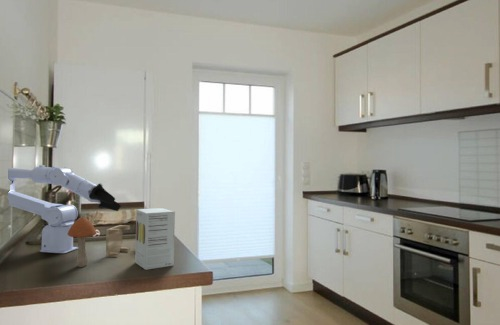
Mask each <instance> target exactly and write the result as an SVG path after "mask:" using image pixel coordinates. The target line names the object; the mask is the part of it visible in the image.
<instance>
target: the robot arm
mask: <svg viewBox="0 0 500 325" xmlns="http://www.w3.org/2000/svg"><path fill="white" fill-rule="evenodd" d="M7 168H8V179H9V180H10V181H12V184H11V185H10V191H9V192H8V200H9V205H8V206H10V207H13V208H16V209H20V210H23V211H25V212H28V213H31V214H35V215H37V216H40V217H41V220H43V221H45V222H46V223H47V224H46V225H44V227H43V229H42V232H41V249H40V250H39V253H53V254H66V253H69V252H72V251H75V250H78V246H74V237H71V236H69V235H68V231H69V229H70V228H71V226H72V225H73V224H74V222H75V221H76V220H77V218H78V214H79V212H78V209H77V207H76V206H75V205H73V204H70V203H69V204H63V203H52V202H49V201H46V200H43V199H40V198H37V197H34V196H31V195H28V194H25V193H21V192H18V191H16V185H15V181H16V180H17V179H30V180H32V182H34V183H35V184H36V183H37V184H49V185H50V184H52V185H53V186H61V187H63V188H65V189H67V190H68V191H69V192H72V193H74V194H77V195H78V196H80V197H82V198H84V199H86V200H87V201H88V202H90V203H99V204H98V205H97V207H98V208H99V209H108V210H112V211H115V212H119V210H120V208H121V204H120V203H118V202H117V201H116V198H115V197H114V196H113V195H112V194H111V193H110V192H108V191H107V190H106V189H105V188H104V187H103V183H101V182H99V183H98V184H95V183H94V182H92V181H90V180H87V179H86V178H84V177H82V176H80V175H78V174H76V173H74V172H73V170H72V169H71V168H68V167H58V166H56V165H53V166H52V167H51V166H48V167H46V165H43V164H40V165H38V166H36V167H34V168H33V169H28V168H27V169H25V168H18V167H17V168H16V167H7Z"/></svg>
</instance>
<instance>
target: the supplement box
mask: <svg viewBox="0 0 500 325" xmlns="http://www.w3.org/2000/svg"><path fill="white" fill-rule="evenodd" d="M135 211H136V213H135V214H136V216H135V217H136V218H135V219H136V220H135V223H136V224H135V251H134V252H135V253H134V255H135V257H134V261H135V264H137V265H138V266H139V267H141V268H143V270H145V271H147V270H152V269H159V268H166V267H173V266H174V265H175V264H174V263H175V262H174V259H175V228H176V226H175V224H176V223H175V222H176V220H175V219H176V212H175V211H174V210H169V209H166V208H164V207H159V208H158V207H157V208H139V209H136V210H135Z"/></svg>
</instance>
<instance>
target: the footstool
mask: <svg viewBox="0 0 500 325" xmlns="http://www.w3.org/2000/svg"><path fill="white" fill-rule="evenodd" d="M123 230H125V231H127V230H131V225H125V224H124V225H122V224H119V225H115V226H112V227H109V228H107V229H106V233H105V234H106V235H105V239H106V240H105V257H106V258H120V252H121V253H122V252H123V253H129V252H131V251H130V250H131V248H130V247H123Z"/></svg>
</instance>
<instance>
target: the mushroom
mask: <svg viewBox="0 0 500 325" xmlns="http://www.w3.org/2000/svg"><path fill="white" fill-rule="evenodd" d="M68 235H69V236H71V237H73V238H76V239H77V247H78V249H77V255H76V266H77V267H78V268H83V267H86V266H87V264H88V255H87V251H86V238H90V237H93V236H95V235H97V231H96V229H95V226H94V224H93V223H92V222H91V221H90V220H89V219H88V218H87V217H84V216H81V217H79V218H78V219H76V220H74V224H73V225H72V226H71V228H70V229H69V231H68Z"/></svg>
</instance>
